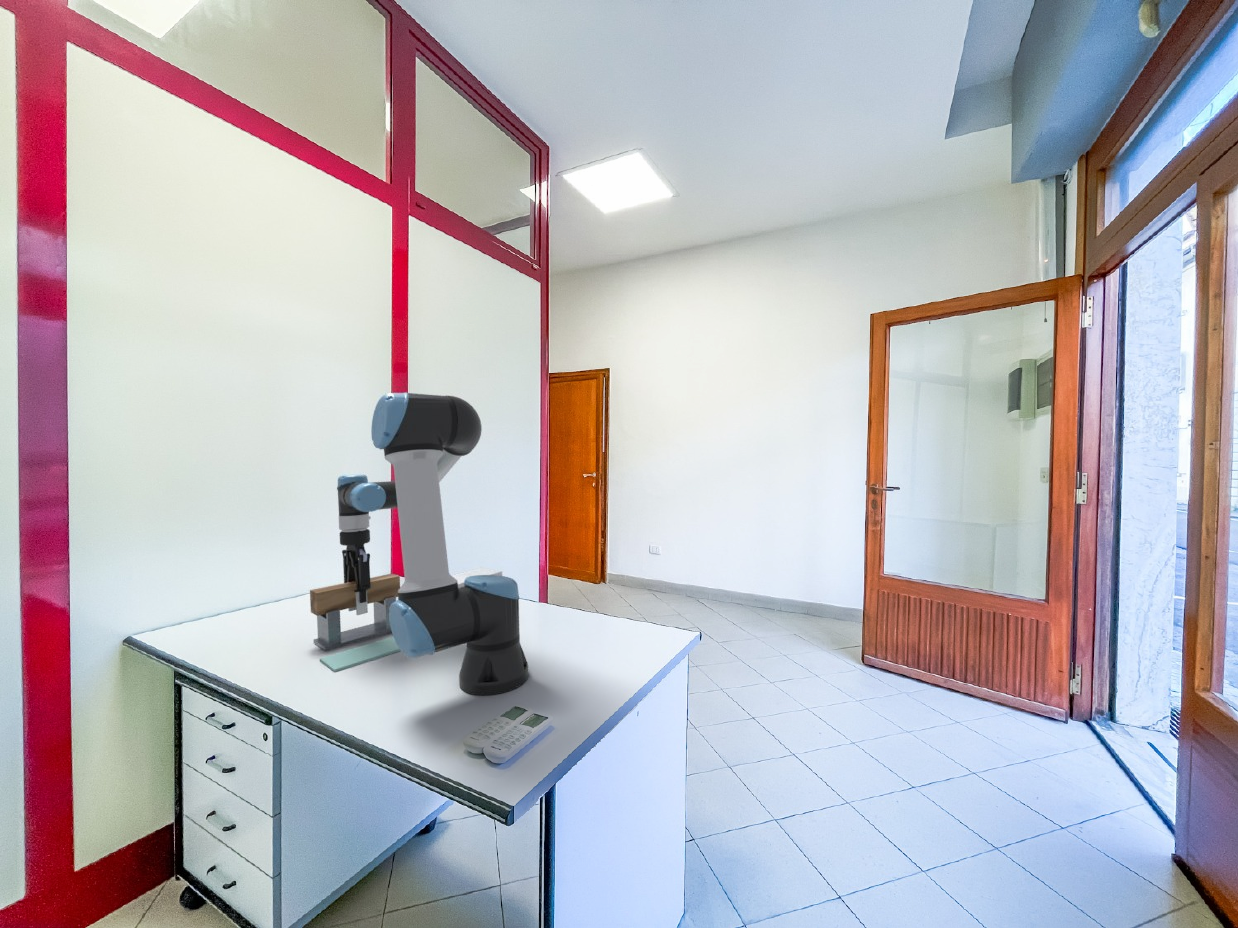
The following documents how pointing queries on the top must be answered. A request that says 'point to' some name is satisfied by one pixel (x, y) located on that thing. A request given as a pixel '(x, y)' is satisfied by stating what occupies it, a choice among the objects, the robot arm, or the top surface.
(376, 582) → the rail
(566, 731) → the top surface
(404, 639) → the robot arm
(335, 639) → the standards
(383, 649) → the mat
